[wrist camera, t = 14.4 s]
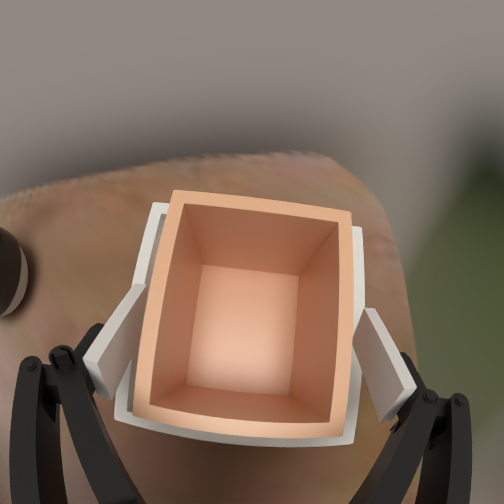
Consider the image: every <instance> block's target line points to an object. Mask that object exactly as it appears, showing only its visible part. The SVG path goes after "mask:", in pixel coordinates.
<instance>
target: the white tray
mask: <svg viewBox="0 0 504 504" xmlns="http://www.w3.org/2000/svg"><path fill="white" fill-rule="evenodd" d="M168 208H169V204H168V203H156V202H153V205H152V208H151V212H150V215H149V218H148V222H147V226H146V229H145V233H144V237H143V240H142V244H141V248H140V252H139V256H138V260H137V265H136V269H135V273H134V278H133V282H132V286H133V285H134V284H135V283H139V284H146V285H147V294H148V293H149V288H150V283H151V278H152V274H153V269H154V264H155V260H156V255H157V251H158V247H159V243H160V239H161V234H162V230H163V227H164V223H165V219H166V215H167V211H168ZM352 239H353V268H354V311H353V335H354V332H355V330H356V327H357V325H358V322H359V320H360V317H361V315H362V312H363V309H364V308H365V288H364V256H363V238H362V227H356V226H352ZM131 288H132V287H131ZM139 347H140V343H139V345H138V347H137V349H136V351H135V353H134V355H133V357H132V359H131V361H130V363H129V365H128V367H127V369H126V371H125V373H124V375H123V378H122V380H121V382H120V384H119V386H118V388H117V390H116V398H115V413H114V419H115V420H118V421H121V422H124V423H128V424H131V425H135V426H138V427H142V428H146V429H149V430H153V431H158V432H162V433H166V434H171V435H176V436H181V437H186V438H192V439H198V440H204V441H211V442H218V443H227V444H236V445H248V446H264V447H318V446H334V445H346V444H353V441H354V435H355V428H356V421H357V414H358V406H359V397H360V387H361V376H362V370H361V367H360V365H359V362H358V359H357V357H356V354H355V351H354V349H353V346H352V357H351V370H350V382H349V392H348V401H347V409H346V417H345V424H344V431H343V436H341V437H326V438H265V437H249V436H238V435H228V434H220V433H212V432H206V431H199V430H193V429H188V428H182V427H177V426H172V425H168V424H163V423H159V422H154V421H150V420H146V419H143V418H139V417H135V416H132V413H133V400H134V389H135V380H136V371H137V362H138V355H139Z"/></svg>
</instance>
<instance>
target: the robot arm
mask: <svg viewBox="0 0 504 504" xmlns="http://www.w3.org/2000/svg"><path fill="white" fill-rule="evenodd" d="M147 299H148V294H147V285H146V284H139V283H135V284H134V285H133V286H132V288H131V289H130V291H129V292H128V293H127V295H126V296H125V297H124V299H123V300H122V301H121V303H120V304H119V306H118V307H117V308H116V310H115V311H114V313H113V314H112V315H111V317H110V318H109V320H108V321H107V323H106V324H105V325H104V324H100V323H97V324H95V325H94V326H92V327H91V328H90V329H89V330H88V332H87V333H86V335H85V336H84V337H83V339H82V340H81V342H80V343H79V344H78V346H77V347H76V349H75V350H74V351H73V349H72V348H71V347H69V346H66V345H59V346H57V347H55V348H53V349H52V350H51V351H50V353H49V360H50V362H51V365H47V364H42V362H41V360H40V359H39V358H38V357H36V356H29V357H27V358H25V359H24V360H23V361H22V362H21V364H20V367H19V372H18V377H17V383H16V388H15V395H14V401H13V409H12V418H11V430H10V452H9V467H10V488H11V499H12V504H68V502H67V496H66V490H65V484H64V477H63V468H62V459H61V445H60V404H62V407H63V411H64V414H65V418H66V421H67V425H68V428H69V431H70V434H71V437H72V440H73V443H74V446H75V449H76V452H77V454H78V457H79V460H80V462H81V465H82V467H83V469H84V472H85V474H86V476H87V479H88V481H89V483H90V485H91V488H92V490H93V492H94V494H95V496H96V498H97V500H98V502H99V504H146V503H145V501H144V500H143V498H142V496H141V495H140V493H139V492H138V490H137V488H136V487H135V485H134V483H133V481H132V480H131V478H130V476H129V474H128V473H127V471H126V469H125V467H124V465H123V463H122V461H121V460H120V458H119V456H118V454H117V452H116V450H115V447H114V445H113V443H112V441H111V439H110V437H109V435H108V432H107V430H106V428H105V425H104V423H103V421H102V418H101V416H100V413H99V411H98V408H97V405H96V403H95V400H94V398H93V396H92V395H93V393H94V391H95V390H96V392H97V394H98V396H99V397H102V398H105V399H108V400H111V401H112V399H113V397H114V395H115V393H116V390H117V388H118V386H119V384H120V382H121V380H122V378H123V375H124V373H125V371H126V369H127V367H128V365H129V363H130V361H131V359H132V357H133V355H134V353H135V351H136V349H137V347H138V345H139V343H140V340H141V334H142V327H143V321H144V315H145V310H146V304H147ZM352 346H353V349H354V351H355V354H356V357H357V359H358V362H359V365H360V367H361V370H362V373H363V376H364V378H365V381H366V384H367V387H368V390H369V393H370V396H371V399H372V401H373V404H374V407H375V410H376V413H377V417H378V420H379V422H385V421H392V419H393V418H394V417H395V416H396V414H397V415H398V418H399V420H398V421H397V422H396V423H395V424H394V426H393V427H392V428H391V429H390V431H392V432H391V434H390V436H389V438H388V440H387V442H386V444H385V446H384V448H383V450H382V451H381V453H380V455H379V457H378V459H377V460H376V462H375V464H374V466H373V467H372V469H371V471H370V472H369V474H368V475H367V477H366V479H365V480H364V482H363V483H362V485H361V486H360V488H359V489H358V491H357V492H356V494H355V495H354V497H353V498H352V500H351V501H350V502H349V504H401V502H402V500H403V498H404V496H405V494H406V492H407V490H408V488H409V486H410V484H411V482H412V479H413V477H414V475H415V473H416V470H417V468H418V466H419V463H420V461H421V458H422V456H423V463H422V469H421V475H420V481H419V486H418V492H417V496H416V501H415V504H469V501H470V491H471V476H472V436H471V435H472V434H471V419H470V408H469V402H468V399H467V398H466V397H465V396H464V395H463V394H460V393H455V394H453V395H452V396H451V398H450V399H445V398H439V396H438V395H437V394H436V393H435V392H434V391H433V390H430V389H426V387H425V385H424V383H423V381H422V379H421V377H420V375H419V373H418V372H417V371H416V368H415V366H414V364H413V362H412V360H411V359H410V357H409V356H408V355H407V354H405V353H404V352H399V351H398V349H397V347H396V345H395V344H394V342H393V340H392V338H391V336H390V334H389V333H388V331H387V329H386V327H385V326H384V324H383V322H382V320H381V319H380V317H379V315H378V313H377V312H376V310H375V308H364V309H363V312H362V315H361V317H360V320H359V322H358V325H357V327H356V330H355V332H354V335H353V340H352ZM423 453H424V454H423Z"/></svg>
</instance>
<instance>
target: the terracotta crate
mask: <svg viewBox="0 0 504 504" xmlns="http://www.w3.org/2000/svg"><path fill="white" fill-rule="evenodd" d="M353 311H354V268H353V239H352V221H351V212H348V211H343V210H337V209H330V208H324V207H318V206H311V205H304V204H298V203H291V202H283V201H276V200H268V199H260V198H252V197H243V196H234V195H225V194H215V193H205V192H194V191H182V190H173V193H172V197H171V200H170V204H169V208H168V211H167V215H166V219H165V223H164V227H163V230H162V234H161V239H160V243H159V247H158V251H157V255H156V260H155V264H154V269H153V274H152V278H151V283H150V288H149V293H148V299H147V304H146V310H145V315H144V321H143V327H142V334H141V340H140V347H139V355H138V362H137V371H136V380H135V389H134V400H133V413H132V416H135V417H139V418H143V419H146V420H150V421H154V422H159V423H163V424H168V425H172V426H177V427H182V428H188V429H193V430H199V431H206V432H212V433H220V434H228V435H238V436H249V437H265V438H326V437H341V436H343V431H344V424H345V417H346V409H347V401H348V392H349V382H350V370H351V357H352V340H353Z"/></svg>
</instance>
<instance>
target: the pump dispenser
mask: <svg viewBox="0 0 504 504" xmlns="http://www.w3.org/2000/svg"><path fill="white" fill-rule="evenodd" d="M27 282H28V267H27V261H26V258H25V255H24V253H23V251H22V249H21V247H20V246H19V243H18V241H17V239H16V238H15V237H14V236H13V235H12V234H11V233H10V232H8V231H7V230H5V229H4V228H2V227H0V316H4V315H7V314H9V313H11V312H12V311H13V310H14V309H15V308H16V307H17V306H18V305H19V304H20V302H21V300H22V299H23V296H24V294H25V291H26V287H27Z"/></svg>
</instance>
